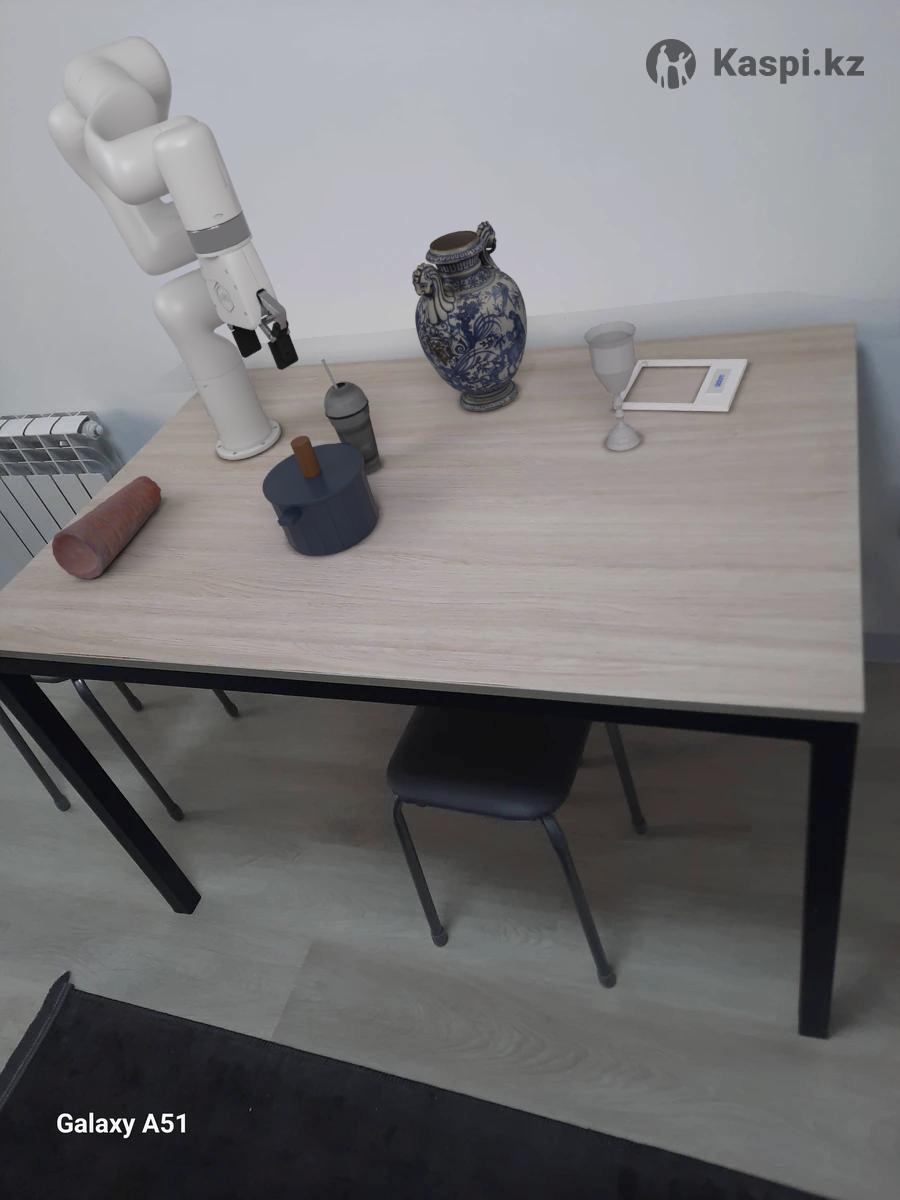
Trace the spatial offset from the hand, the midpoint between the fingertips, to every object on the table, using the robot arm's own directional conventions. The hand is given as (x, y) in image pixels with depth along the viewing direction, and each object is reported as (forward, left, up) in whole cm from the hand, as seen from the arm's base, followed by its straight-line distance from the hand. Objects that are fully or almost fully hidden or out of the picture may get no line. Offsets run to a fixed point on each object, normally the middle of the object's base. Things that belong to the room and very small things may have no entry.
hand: (270, 359), depth 119 cm
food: (-29, -23, -27) cm, 46 cm away
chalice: (+30, +36, -27) cm, 54 cm away
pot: (+3, -2, -27) cm, 27 cm away
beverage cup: (-5, +12, -27) cm, 30 cm away
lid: (+3, -2, -18) cm, 18 cm away
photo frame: (+29, +53, -27) cm, 66 cm away
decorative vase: (-1, +38, -27) cm, 47 cm away
